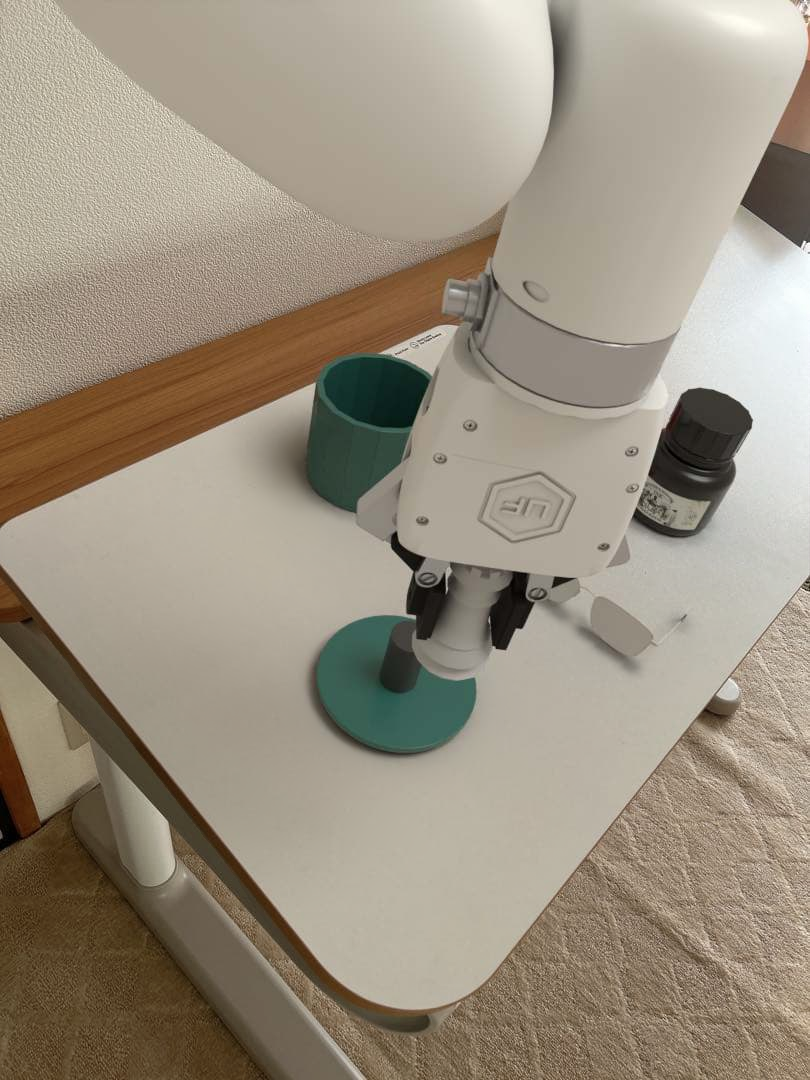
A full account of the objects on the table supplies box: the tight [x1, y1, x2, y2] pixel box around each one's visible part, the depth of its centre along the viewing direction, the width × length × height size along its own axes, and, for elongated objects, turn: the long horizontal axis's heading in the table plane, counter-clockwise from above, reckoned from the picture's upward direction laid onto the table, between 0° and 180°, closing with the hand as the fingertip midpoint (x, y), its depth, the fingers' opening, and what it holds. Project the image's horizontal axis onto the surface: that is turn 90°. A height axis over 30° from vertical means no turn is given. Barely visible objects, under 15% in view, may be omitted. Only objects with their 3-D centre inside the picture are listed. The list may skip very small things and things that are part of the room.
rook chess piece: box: [412, 562, 513, 681], centre depth 46 cm, size 4×4×8 cm
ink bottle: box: [633, 387, 754, 537], centre depth 83 cm, size 10×9×12 cm
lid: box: [315, 614, 477, 754], centre depth 64 cm, size 12×12×6 cm
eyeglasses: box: [547, 578, 688, 658], centre depth 76 cm, size 14×8×4 cm, turn 48°
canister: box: [304, 352, 433, 513], centre depth 80 cm, size 11×11×10 cm
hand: (460, 621), depth 47 cm, fingers closed on rook chess piece, 3 cm apart
